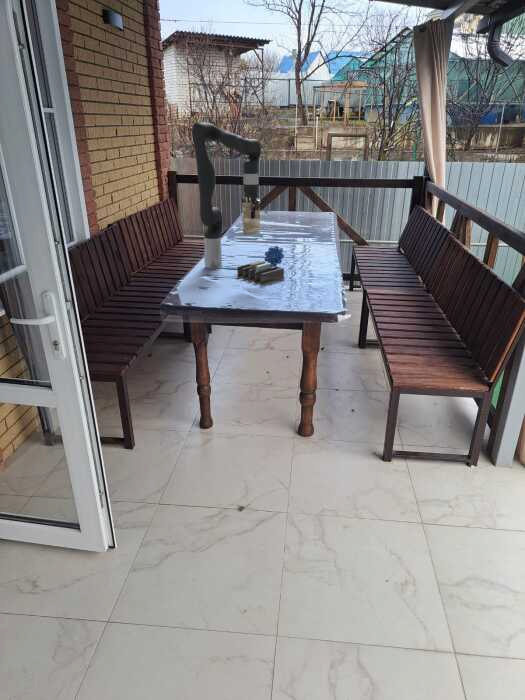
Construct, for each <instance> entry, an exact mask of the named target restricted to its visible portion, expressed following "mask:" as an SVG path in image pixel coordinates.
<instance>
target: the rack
mask: <svg viewBox="0 0 525 700" xmlns="http://www.w3.org/2000/svg"><path fill="white" fill-rule="evenodd" d="M260 261H261V260H260ZM260 261H259V260H258V261H255V262H250V263H247V264H242V265H240V266H237V267H236V268H237V269H236V273H237V274H236V275H234V277H236V278H240V279H242V280H245V281H249V282H252V283H254V284H258V285H260V286H265V285H268V284H271V283H275V282H278V281H282V280H285V279H287V277H286V276H285V268H284V267H281V268H279V266H278V265H277V266H273V265H271V268H268V269H264V270H261V271H257V272H256V269H252V270H250V264H252V263H256V262H260Z"/></svg>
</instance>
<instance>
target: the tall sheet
mask: <svg viewBox="0 0 525 700" xmlns="http://www.w3.org/2000/svg"><path fill="white" fill-rule="evenodd" d="M252 205H254V204H252ZM253 208H254V206H253ZM256 208H257V207H256ZM241 209H242V235H243V236H246V237H247V236H251V235H256V234H261V206H260V207H259V209H258V210H256V211H255V219H251V207H250V202H245V203H242V208H241Z"/></svg>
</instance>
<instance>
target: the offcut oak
mask: <svg viewBox="0 0 525 700" xmlns="http://www.w3.org/2000/svg"><path fill="white" fill-rule="evenodd" d="M255 262H256V263H254V262H251V263H252V264H250V263H249V264H250V270H252V269H256V266H257V265H261V264H265V263H266V262H265V260H260V262H258V261H255Z"/></svg>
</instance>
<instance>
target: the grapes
mask: <svg viewBox="0 0 525 700" xmlns="http://www.w3.org/2000/svg"><path fill="white" fill-rule="evenodd" d="M283 252H284V250H283V248H279V246H278V245H275V246H273V247H272V246H270V247H269V248H268V250H266V252H264V256H265V257H264V260H263V261H264V262H265V263H271V265H272V266H273V267H276V266H278V265H281V264H282V261H283V259H284V258H285V254H284V253H283Z"/></svg>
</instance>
